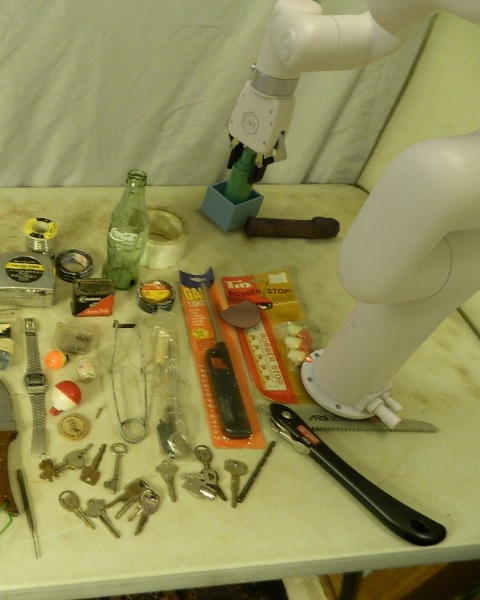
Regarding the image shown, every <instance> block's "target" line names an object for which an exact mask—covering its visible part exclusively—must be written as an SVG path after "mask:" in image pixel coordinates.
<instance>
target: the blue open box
mask: <svg viewBox="0 0 480 600" xmlns="http://www.w3.org/2000/svg"><path fill="white" fill-rule="evenodd" d="M227 182H228V178H227V179H224V180H221V181H218V182H215V183H211V184H208V185H207V188H206V190H205V194H204V198H203V201H202V204H201V208H200V210H201V212H202V213H204V214H205V215H206V216H207V217H208V218H210V219H211V220H212V221H213V222H215V224H217V225H218V226H219V227H220V228H221V229H223V230H224V231H225V232H227V233H228V232H230V231H232V230H235V229H238V228H241V227H243V226H245V223H246V221H247V218H248V216H249V215H251V216H253V217H256V218H258V214H259V211H260V209H261V207H262V204H263V201H264V200H265V196H264V195H263V194H262V193H260V192H259V191H258V190H256V189H255V188H254V187H253V189H252V192H251V195H250V197H249V200H248V201H246V202H243V203H240V204H238V205H234V204H233V203H232V202H230V201H229V200H228V199H227V198H225V197H224V196H223V195H224V191H225V188H226V185H227Z"/></svg>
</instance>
